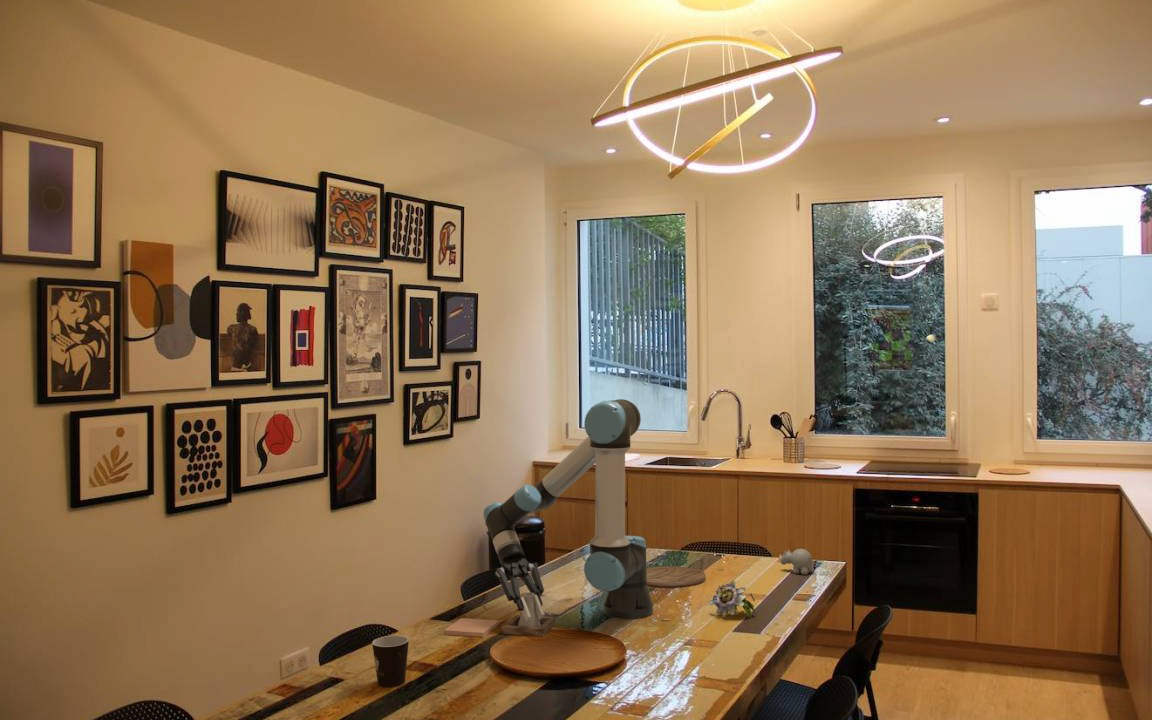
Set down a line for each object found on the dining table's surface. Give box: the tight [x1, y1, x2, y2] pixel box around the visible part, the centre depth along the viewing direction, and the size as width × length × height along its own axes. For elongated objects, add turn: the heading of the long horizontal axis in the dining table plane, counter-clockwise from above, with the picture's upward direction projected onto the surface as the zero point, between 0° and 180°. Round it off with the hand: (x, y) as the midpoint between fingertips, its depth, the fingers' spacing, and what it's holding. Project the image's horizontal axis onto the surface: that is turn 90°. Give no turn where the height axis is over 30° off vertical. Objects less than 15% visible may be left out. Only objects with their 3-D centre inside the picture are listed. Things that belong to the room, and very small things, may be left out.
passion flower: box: [707, 579, 756, 619], centre depth 262 cm, size 11×11×12 cm
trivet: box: [646, 565, 706, 589], centre depth 307 cm, size 25×25×2 cm
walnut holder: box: [501, 614, 557, 637], centre depth 252 cm, size 12×12×2 cm
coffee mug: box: [371, 635, 410, 689], centre depth 210 cm, size 12×9×10 cm
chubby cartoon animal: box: [779, 548, 814, 576], centre depth 312 cm, size 7×12×8 cm, turn 48°
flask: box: [517, 592, 541, 627], centre depth 252 cm, size 7×7×10 cm
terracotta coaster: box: [443, 617, 500, 638], centre depth 253 cm, size 12×12×1 cm
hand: (535, 618), depth 249 cm, fingers closed on flask, 3 cm apart
